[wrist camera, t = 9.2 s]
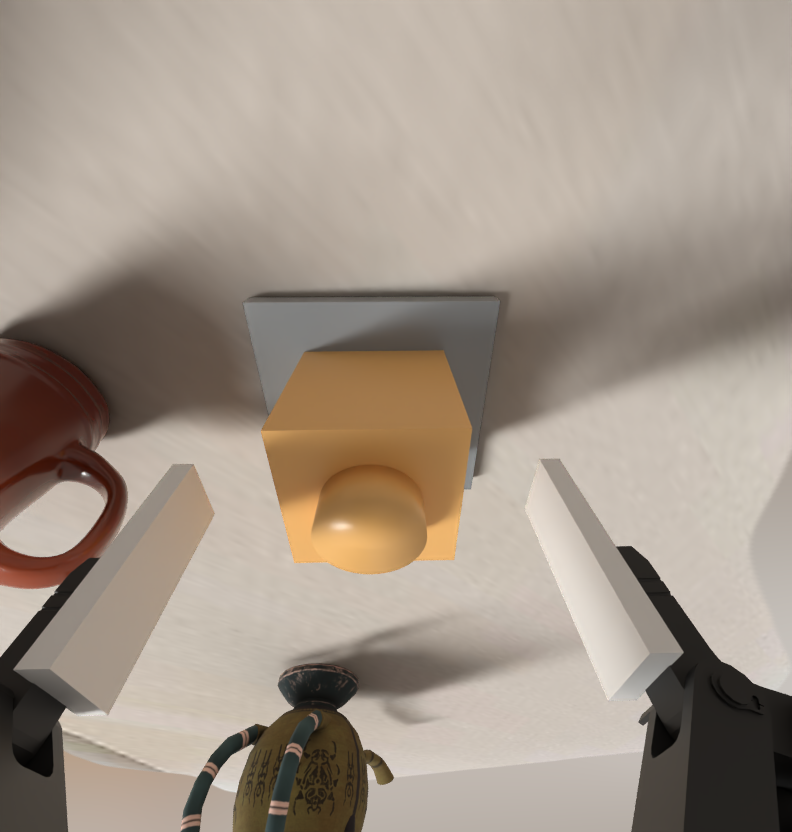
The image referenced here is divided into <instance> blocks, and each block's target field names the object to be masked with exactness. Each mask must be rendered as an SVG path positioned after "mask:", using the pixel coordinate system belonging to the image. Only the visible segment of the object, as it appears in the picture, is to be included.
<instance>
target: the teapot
mask: <svg viewBox="0 0 792 832" xmlns="http://www.w3.org/2000/svg"><path fill="white" fill-rule="evenodd" d="M278 687H279V689H280V691H281V693H282V694H283V696H284V697H285V699H286V700H287V702H288V703H289V704H290V705H291V706H293V707H294V709H293V710H291V711H288V712H286V713H284V714H283V715H282V716H281V717H279V718H278V719H277V720H276V721H275V722H274V723H273V724H272V725H271V726H269V727H266V726H262V725H259V724H255V725H254V726H252V727H250V728H247V729H245V730H243V731H241V732H239V733H237V734H235V735H233V736H230V737H228V738H227V739H226V740H225V741H224V742H223V743H222V744H221V745H220V746H219V748H218V749H217V750H216V751H215V752H214V753H213V754H212V755H211V757H210V758H209V760H208V762H207V763H206V765H205V766H204V768H203V770H202V771H201V773H200V775H199V776H198V778H197V780H196V781H195V783H194V786H193V788H192V791H191V793H190V796H189V798H188V801H187V803H186V806H185V808H184V811H183V818H182V825H181V832H199V831H200V822H201V813H202V806H203V804H204V801H205V798H206V796H207V793H208V790H209V788H210V785H211V784H212V782H213V780H214V778H215V777H216V775H217V773H218V771H219V770H220V768H221V767H222V765H223V764H224V763H225V762H226V761H227V760H228V759H229V757H230V756H231V755H232V754H234V753H236V752H238V751H240V750H242V749H243V748H245V747H247V746H249V745H251V744H252V745H255V746H254V748H253V749H252V751H251V752H250V754H249V757H248V760H247V762H246V765H245V768H244V770H243V773H242V776H241V779H240V781H239V786H238V790H237V795H236V800H235V805H234V811H233V832H361V830H362V827H363V823H364V818H365V814H366V810H367V797H368V778H367V765H366V764H369V765H370V766H371V767H372V769H373V770H374V773H375V776H376V779H377V783H378V784H380V785H384V784H387V783H390V782H391V781H392V780H393V779H394V777H393V775H392V773H391V771H390V769H389V768H388V766H387V764H386V763H385V762H384V760H383V759H382V758H381V757H380V756H378V755H377V754H375V753H374V752H372V751H371V750H364V751H363V748H362V745H361V742H360V739H359V736H358V733H357V732H356V730H355V729H354V728H353V726H352V725H351V724H350V722H349V721H348V720H347V718H346V717H345V716H344V715H342V714H341V713H339V712H338V711H337V709H339V708H340V707H342V706H343V705H345V704H346V703H347V702H348V701H349V700H350V699H351V698H352V697H353V696H354V695H355V694H356V692H357V691H358V689H359V681H358V678H357V677H356V676H355V675H354V673H352V672H350V671H348V670H346V669H344V668H341V667H337V666H334V665H326V664H306V665H301V666H295V667H293V668H291V669H288V670H286V671H285V672H284V673H282V674H281V675H280V678H279V682H278Z"/></svg>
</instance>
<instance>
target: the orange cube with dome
mask: <svg viewBox="0 0 792 832" xmlns="http://www.w3.org/2000/svg"><path fill="white" fill-rule="evenodd" d="M261 434H262V438H263V441H264V445H265V449H266V453H267V457H268V461H269V465H270V469H271V473H272V477H273V481H274V485H275V489H276V492H277V496H278V500H279V504H280V508H281V512H282V516H283V520H284V524H285V528H286V532H287V536H288V540H289V543H290V547H291V551H292V555H293V559H294V563H311V562H328V563H330V564H331V565H333V566H335V567H337V568H340V569H342V570H345V571H349V572H353V573H360V574H380V573H387V572H391V571H395V570H398V569H400V568H402V567H405V566H406V565H408V564H410V563H411V562H413V561H416V560H454V556H455V549H456V542H457V535H458V528H459V520H460V513H461V506H462V499H463V492H464V485H465V477H466V470H467V463H468V456H469V449H470V441H471V434H472V426H471V423H470V420H469V418H468V415H467V412H466V410H465V407H464V404H463V401H462V399H461V396H460V393H459V391H458V388H457V385H456V383H455V380H454V377H453V374H452V372H451V369H450V366H449V364H448V361H447V358H446V356H445V353H444V350H426V351H321V352H304V353H303V355H302V357H301V359H300V360H299V362H298V364H297V366H296V368H295V370H294V371H293V373H292V375H291V377H290V379H289V380H288V382H287V384H286V386H285V388H284V390H283V391H282V393H281V395H280V397H279V399H278V400H277V402H276V404H275V406H274V408H273V410H272V411H271V413H270V415H269V417H268V419H267V421H266V422H265V424H264V426H263V428H262V430H261Z"/></svg>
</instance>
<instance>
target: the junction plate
mask: <svg viewBox="0 0 792 832" xmlns="http://www.w3.org/2000/svg"><path fill="white" fill-rule="evenodd" d="M499 306H500V300H498V299H497V298H496V297H495V296H429V297H250V298H248V299H247V300H245V301H244V302H243V307H244V311H245V316H246V320H247V324H248V329H249V333H250V337H251V342H252V346H253V350H254V354H255V359H256V363H257V367H258V372H259V376H260V380H261V385H262V389H263V393H264V398H265V402H266V406H267V411H268V415H270V413H271V411H272V410H273V408H274V406H275V404H276V402H277V400H278V399H279V397H280V395H281V393H282V391H283V390H284V388H285V386H286V384H287V382H288V380H289V379H290V377H291V375H292V373H293V371H294V370H295V368H296V366H297V364H298V362H299V360H300V359H301V357H302V355H303V353H304V352H321V351H426V350H444V353H445V356H446V358H447V361H448V364H449V366H450V369H451V372H452V374H453V377H454V380H455V383H456V385H457V388H458V391H459V393H460V396H461V399H462V401H463V404H464V407H465V410H466V412H467V415H468V418H469V420H470V423H471V426H472V434H471V441H470V449H469V456H468V463H467V470H466V477H465V485H464V489H471V485H472V479H473V473H474V466H475V460H476V453H477V447H478V441H479V434H480V428H481V422H482V415H483V409H484V402H485V396H486V390H487V383H488V377H489V370H490V364H491V358H492V351H493V345H494V338H495V332H496V326H497V319H498V313H499Z"/></svg>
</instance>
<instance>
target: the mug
mask: <svg viewBox="0 0 792 832" xmlns="http://www.w3.org/2000/svg"><path fill="white" fill-rule="evenodd" d="M108 426H109V412H108V406H107V403H106V401H105V400H104V398H103V396H102V394H101V393H100V391H99V390H98V389H97V387H96V386H95V385H94V383H93V382H92V381H91V380H90V379H89V378H88V377H87V376H86V375H85V374H84V373H83V372H82V371H81V370H80V369H78V368H77V367H76V366H75V365H73V364H72V363H71V362H69V361H68V360H66V359H65V358H63V357H61V356H60V355H58V354H56V353H54V352H52V351H50V350H48V349H46V348H43V347H41V346H38V345H35V344H32V343H29V342H25V341H20V340H15V339H4V338H0V531H1V530H2V529H3V528H4V527H5V526H6V525H7V524H8V523H9V522H10V521H12V520H13V519H14V518H15V517H16V516H17V515H19V514H20V513H21V512H22V511H23V510H25V509H26V508H27V507H28V506H30V505H31V504H32V503H34V502H35V501H36V500H38V499H39V498H40V497H42V496H43V495H44V494H45V493H47V492H48V491H49V490H50V489H52V488H53V487H54V486H55V485H57V484H58V483H60V482H64V481H72V482H78V483H82V484H85V485H88V486H90V487H92V488H93V489H95V490H96V491H97V492H99V493H100V494H101V496H102V497H103V499H104V502H105V507H104V509H103V511H102V513H101V515H100V517H99V518H98V520H97V521H96V523H95V524H94V526H93V527H92V528H91V530H90V531H89V532H88V533H87V535H86V536H85V537H84V538H83V539H82V540H81V541H80V542H79V543H78V544H77V545H76V546H75V547H73V548H72V549H71V550H69V551H67V552H65V553H63V554H60V555H57V556H52V557H33V556H28V555H25V554H22V553H19V552H16V551H14V550H12V549H10V548H9V547H7V546H6V545H5V544H4V543H3V542H2V541H1V540H0V585H2V586H8V587H14V588H22V589H40V588H48V587H52V586H57V585H60V584H61V583H62V582H63V581H64V580H65V578H66V577H67V576H68V575H69V574H70V573H71V572H72V571H73V570H75V569H76V568H77V567H78V566H80V565H81V564H82V563H83V562H85V561H86V560H87V559H88V558H100V557H101V556H102V555H103V554H104V552H105V551H106V550H107V549H108V547H109V546H110V545H111V543H112V542H113V540H114V539H115V537H116V535H117V534H118V532H119V530H120V528H121V526H122V523H123V520H124V518H125V514H126V509H127V503H128V491H127V486H126V483H125V481H124V479H123V477H122V476H121V475H120V473H119V472H118V471H117V470H116V469H115V468H114V467H113V466H112V465H111V464H110V463H109V462H108V461H107V460H105V459H104V458H103V457H102V456H101V455H99V454H98V453H96V452H95V450H96V448H97V447H98V445H99V443H100V441H101V440H102V439H103V438H104V436H105V434H106V432H107V429H108Z"/></svg>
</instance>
